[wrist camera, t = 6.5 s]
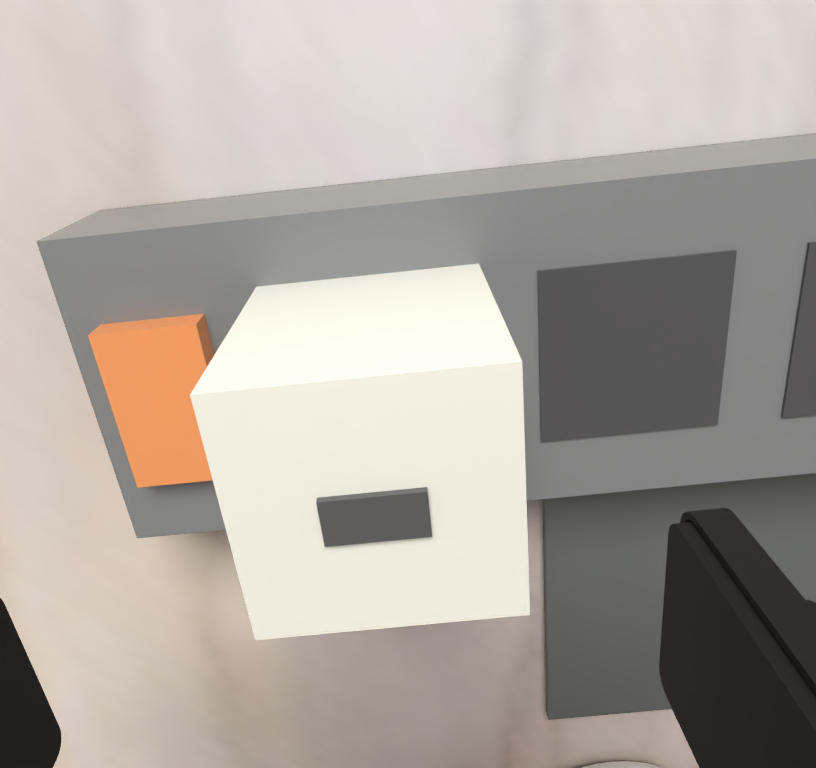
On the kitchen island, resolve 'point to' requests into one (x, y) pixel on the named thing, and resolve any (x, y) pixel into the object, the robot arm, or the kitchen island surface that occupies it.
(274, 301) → the block
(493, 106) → the kitchen island surface
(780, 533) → the mat
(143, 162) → the kitchen island surface
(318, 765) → the kitchen island surface
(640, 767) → the pill bottle
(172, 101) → the kitchen island surface
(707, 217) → the power strip
